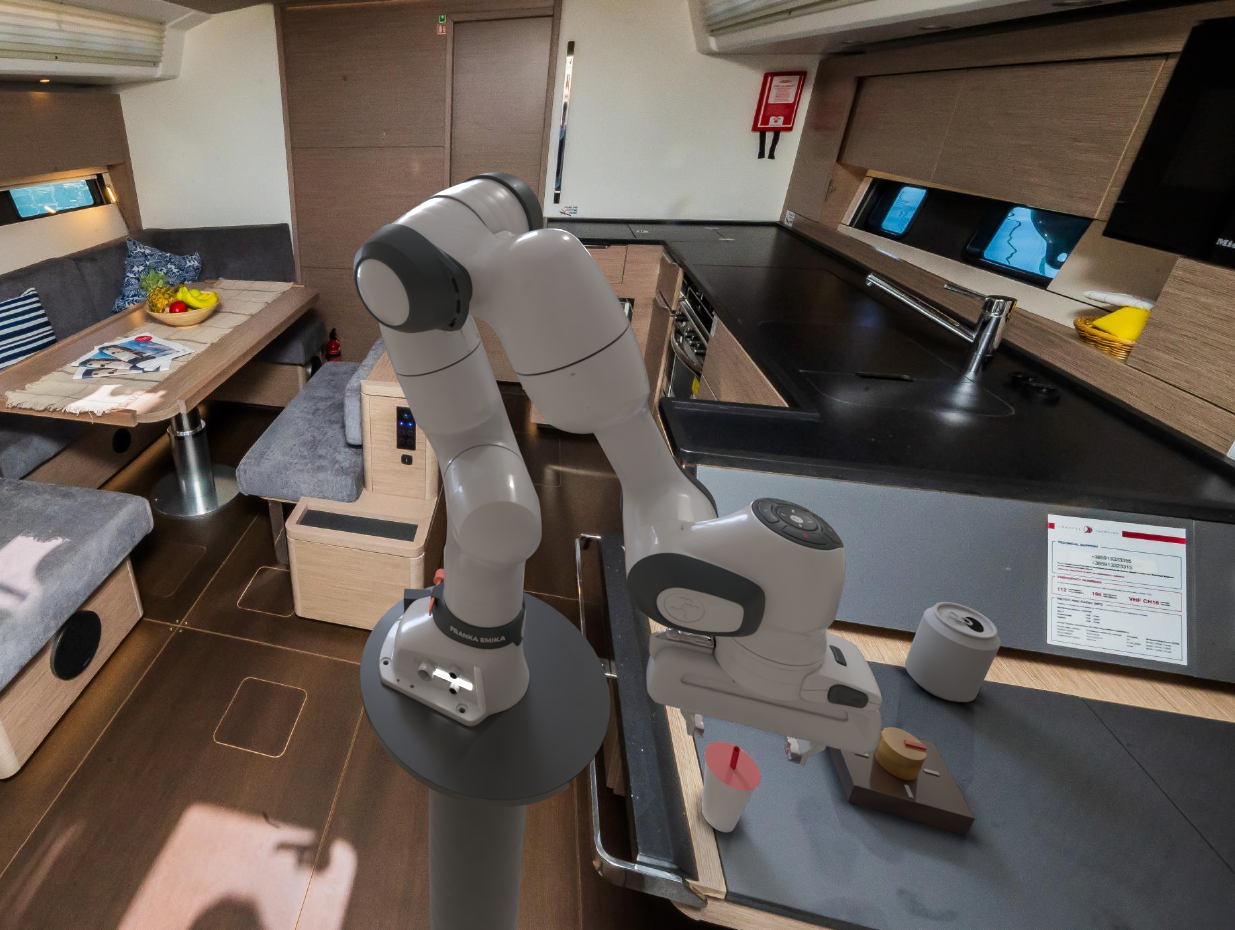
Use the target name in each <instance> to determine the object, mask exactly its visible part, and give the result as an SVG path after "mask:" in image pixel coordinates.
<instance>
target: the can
mask: <svg viewBox="0 0 1235 930" xmlns="http://www.w3.org/2000/svg"><path fill="white" fill-rule="evenodd" d="M922 614H923V615H922V617H921V619H920V622H919V625H918V627H917V630H916V632H915V635H914V637H913V639H912V642H911V645H910V647H909V650H908V652H907V655H906V658H905V660H904V667H905V670H906V672H907V674H909V676H910V677H911V678H912V679H913V680H914V681H915V683H916V684H917V685H918V686H920V688H922V689H924V690H925V691H926V692H928V693H930V694H931V695H933V696H936V697H938V698H940V699H942V700H946V701H950V702H958V703H968V702H972V701H974V700H975V699H976V698H977V696H978V694H979V693H980V690H981V688H982V685H983V683H984V681H985V679H986V677H987V674H988V672H989V670H990V668H991V666H992V664H993V663H994V660H995V658H996V656H997V653H998V651H999V650H1000V647H1001V644H1002V642H1001V638H1000V636H999V635H998V634H999V633H998V631H999V630H998V628H997V626H996V624H995V623H994V622H992V621H991V620H990V619H989V618H988V616H985V615H984V614H982V613H981V612H979V611H977V610H975V609H973V608H971V607H969V606H966V605H964V604H960V603H956V602H950V601H940V602H937V603H935V604H934V605H933V606H931V607H928V608H926V610H924V612H923V613H922Z"/></svg>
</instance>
